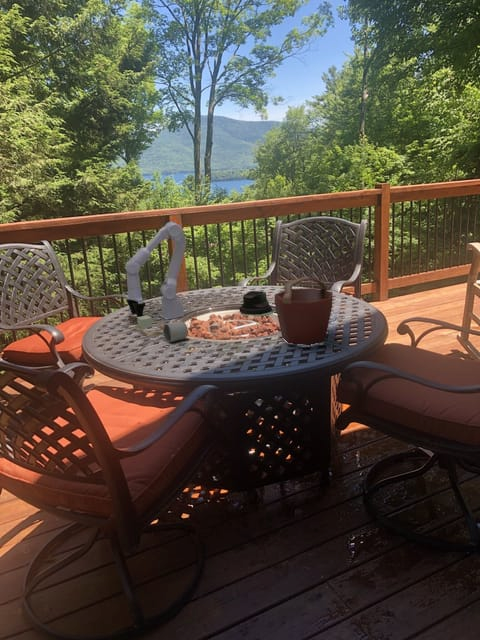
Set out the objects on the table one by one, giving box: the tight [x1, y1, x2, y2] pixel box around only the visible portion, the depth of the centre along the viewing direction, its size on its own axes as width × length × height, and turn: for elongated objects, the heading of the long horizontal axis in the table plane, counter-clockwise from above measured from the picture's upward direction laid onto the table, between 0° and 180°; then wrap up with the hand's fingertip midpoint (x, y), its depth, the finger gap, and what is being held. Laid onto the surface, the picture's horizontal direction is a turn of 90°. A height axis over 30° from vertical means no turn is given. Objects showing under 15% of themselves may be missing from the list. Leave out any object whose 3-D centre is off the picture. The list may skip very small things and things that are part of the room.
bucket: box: [274, 276, 333, 345], centre depth 188 cm, size 24×22×25 cm
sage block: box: [136, 314, 153, 329], centre depth 217 cm, size 5×5×4 cm
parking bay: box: [137, 323, 164, 338], centre depth 209 cm, size 10×12×1 cm
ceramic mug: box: [162, 321, 189, 343], centre depth 198 cm, size 11×8×8 cm
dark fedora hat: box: [239, 290, 277, 317], centre depth 234 cm, size 20×20×9 cm
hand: (137, 315), depth 225 cm, fingers open, 7 cm apart
